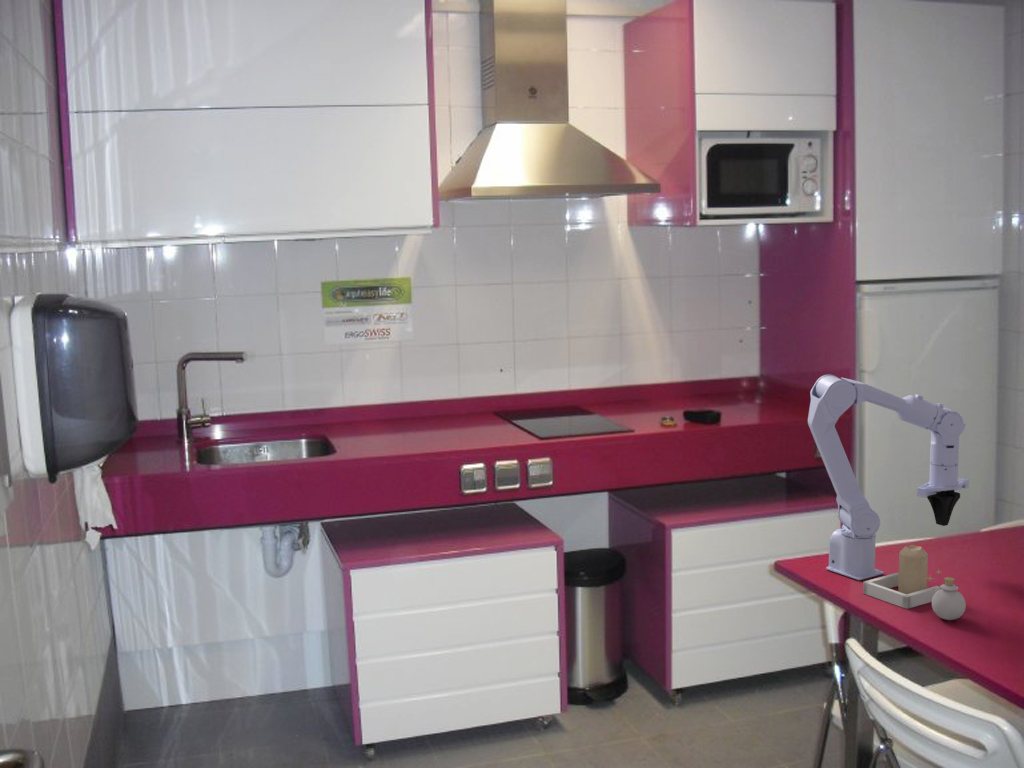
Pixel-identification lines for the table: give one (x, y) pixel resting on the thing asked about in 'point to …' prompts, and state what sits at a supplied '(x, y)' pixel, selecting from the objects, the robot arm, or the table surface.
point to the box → (882, 592)
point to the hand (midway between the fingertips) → (942, 524)
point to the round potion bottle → (948, 600)
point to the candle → (912, 569)
